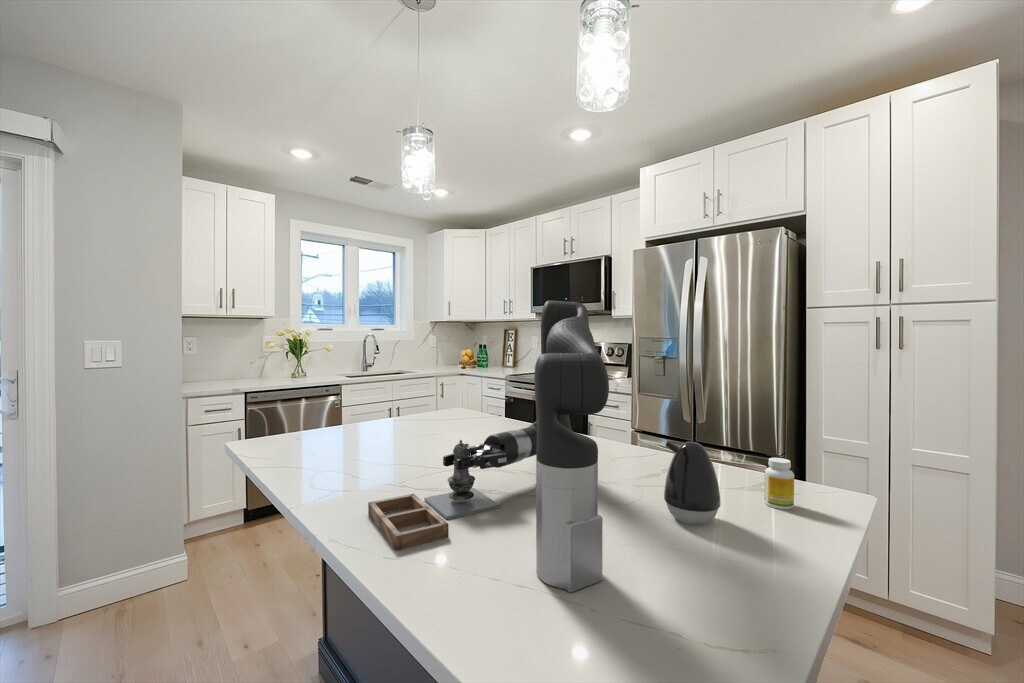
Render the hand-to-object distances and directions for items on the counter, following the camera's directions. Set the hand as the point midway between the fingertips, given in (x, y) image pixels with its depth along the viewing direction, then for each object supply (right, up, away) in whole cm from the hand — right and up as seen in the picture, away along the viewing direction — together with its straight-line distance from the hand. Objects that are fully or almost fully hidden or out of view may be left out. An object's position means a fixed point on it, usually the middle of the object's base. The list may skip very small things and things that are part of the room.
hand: (450, 463), depth 95 cm
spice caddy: (-7, -9, -8) cm, 15 cm away
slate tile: (+2, -9, +2) cm, 10 cm away
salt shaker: (+2, -8, +2) cm, 8 cm away
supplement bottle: (+69, -9, +1) cm, 70 cm away
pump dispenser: (+48, -9, -6) cm, 49 cm away
